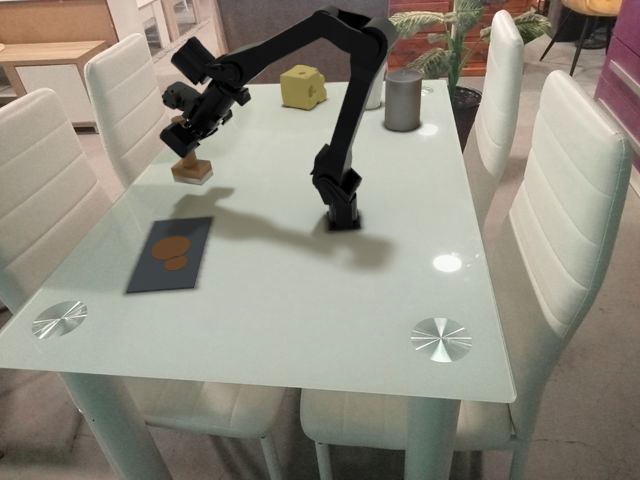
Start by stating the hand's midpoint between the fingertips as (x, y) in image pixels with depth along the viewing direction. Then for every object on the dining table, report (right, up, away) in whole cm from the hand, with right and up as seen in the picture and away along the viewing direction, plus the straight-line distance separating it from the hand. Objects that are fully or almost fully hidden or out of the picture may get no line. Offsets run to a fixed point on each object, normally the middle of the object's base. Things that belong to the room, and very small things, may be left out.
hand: (181, 148), depth 102 cm
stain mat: (+1, -22, -8) cm, 23 cm away
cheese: (+25, +24, +50) cm, 61 cm away
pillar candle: (+53, +13, +32) cm, 63 cm away
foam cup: (+45, +22, +45) cm, 67 cm away
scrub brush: (+2, -6, +4) cm, 7 cm away
